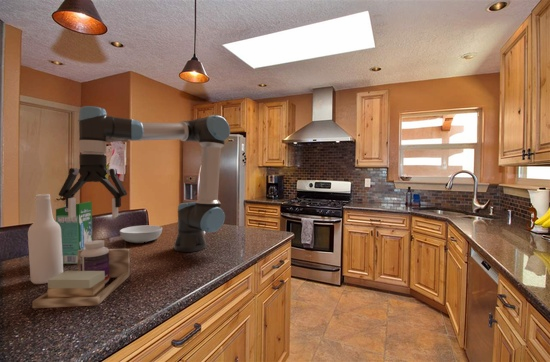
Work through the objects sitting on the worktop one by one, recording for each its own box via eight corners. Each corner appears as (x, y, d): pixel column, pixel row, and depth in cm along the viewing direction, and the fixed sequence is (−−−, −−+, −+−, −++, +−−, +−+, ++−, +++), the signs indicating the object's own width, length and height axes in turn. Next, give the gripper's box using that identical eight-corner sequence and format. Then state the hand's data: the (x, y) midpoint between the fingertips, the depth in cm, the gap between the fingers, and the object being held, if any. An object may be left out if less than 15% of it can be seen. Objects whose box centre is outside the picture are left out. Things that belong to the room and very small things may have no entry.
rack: (129, 275, 99) (129, 248, 98) (97, 305, 77) (97, 270, 77) (80, 277, 97) (79, 249, 96) (32, 308, 75) (31, 272, 75)
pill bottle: (114, 281, 94) (114, 240, 93) (92, 290, 86) (92, 246, 86) (98, 278, 96) (97, 238, 96) (74, 287, 89) (74, 243, 88)
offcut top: (104, 278, 85) (104, 270, 85) (89, 288, 78) (89, 279, 78) (66, 278, 85) (66, 270, 85) (47, 288, 78) (47, 279, 78)
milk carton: (71, 257, 119) (70, 201, 118) (92, 256, 120) (92, 201, 119) (56, 264, 110) (55, 203, 109) (79, 263, 111) (78, 203, 110)
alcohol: (46, 274, 99) (41, 193, 97) (69, 274, 99) (65, 193, 97) (23, 284, 90) (17, 196, 88) (49, 284, 90) (43, 196, 88)
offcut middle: (104, 285, 86) (104, 277, 86) (93, 295, 79) (93, 287, 79) (63, 287, 84) (62, 279, 84) (47, 297, 77) (47, 289, 77)
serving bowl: (151, 246, 137) (151, 233, 137) (111, 246, 137) (111, 232, 137) (168, 236, 158) (168, 225, 158) (133, 236, 158) (133, 224, 158)
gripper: (136, 155, 95) (137, 215, 96) (60, 154, 92) (61, 215, 93) (127, 154, 88) (128, 218, 88) (44, 152, 85) (45, 219, 86)
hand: (94, 217), depth 91 cm, fingers open, 13 cm apart
